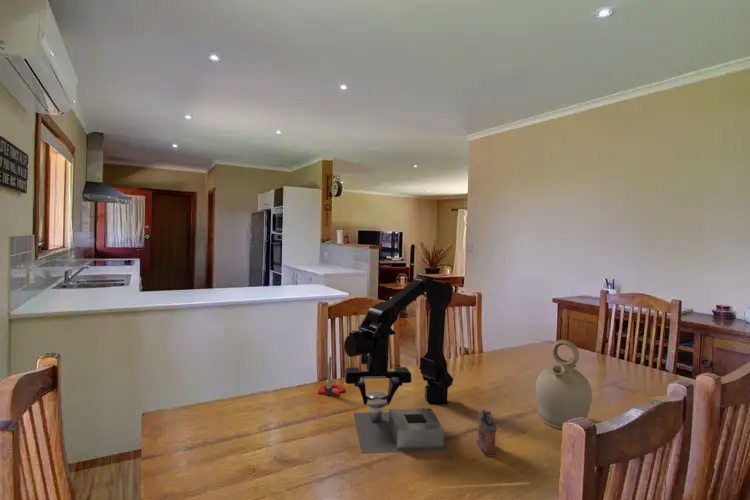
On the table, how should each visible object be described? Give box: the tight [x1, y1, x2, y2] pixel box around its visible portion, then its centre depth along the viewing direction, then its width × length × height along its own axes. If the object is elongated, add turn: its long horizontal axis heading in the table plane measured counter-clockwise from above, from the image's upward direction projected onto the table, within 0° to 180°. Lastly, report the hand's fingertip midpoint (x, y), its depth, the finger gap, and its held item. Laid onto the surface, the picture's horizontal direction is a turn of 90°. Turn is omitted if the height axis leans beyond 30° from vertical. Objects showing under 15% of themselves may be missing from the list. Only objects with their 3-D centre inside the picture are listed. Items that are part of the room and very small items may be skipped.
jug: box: [535, 339, 593, 431], centre depth 122 cm, size 15×16×25 cm
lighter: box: [476, 408, 498, 458], centre depth 104 cm, size 8×3×10 cm, turn 5°
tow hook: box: [318, 356, 345, 397], centre depth 138 cm, size 8×13×9 cm
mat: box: [353, 411, 449, 454], centre depth 112 cm, size 22×22×1 cm
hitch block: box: [388, 407, 445, 450], centre depth 109 cm, size 12×12×5 cm
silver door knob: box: [365, 391, 388, 421], centre depth 117 cm, size 6×6×6 cm
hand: (376, 404), depth 117 cm, fingers closed on silver door knob, 6 cm apart
